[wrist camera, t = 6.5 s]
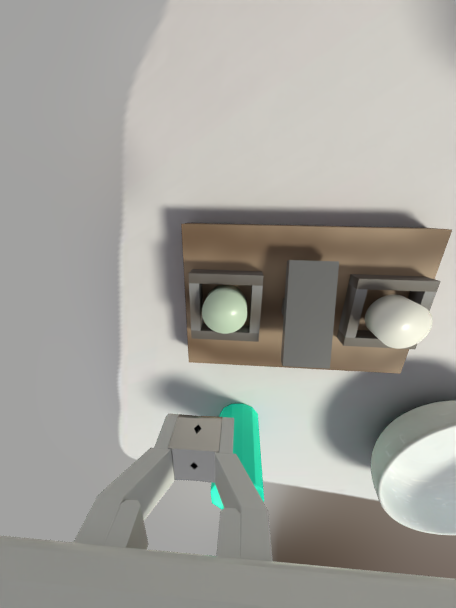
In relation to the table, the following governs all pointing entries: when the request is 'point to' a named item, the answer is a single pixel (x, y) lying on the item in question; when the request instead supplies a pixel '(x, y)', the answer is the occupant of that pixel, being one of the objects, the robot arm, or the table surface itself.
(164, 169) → the table surface
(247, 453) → the candle
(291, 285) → the flat grey strip
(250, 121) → the table surface
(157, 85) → the table surface
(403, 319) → the button offwhite
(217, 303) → the button sage
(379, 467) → the serving bowl
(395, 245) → the switch panel
